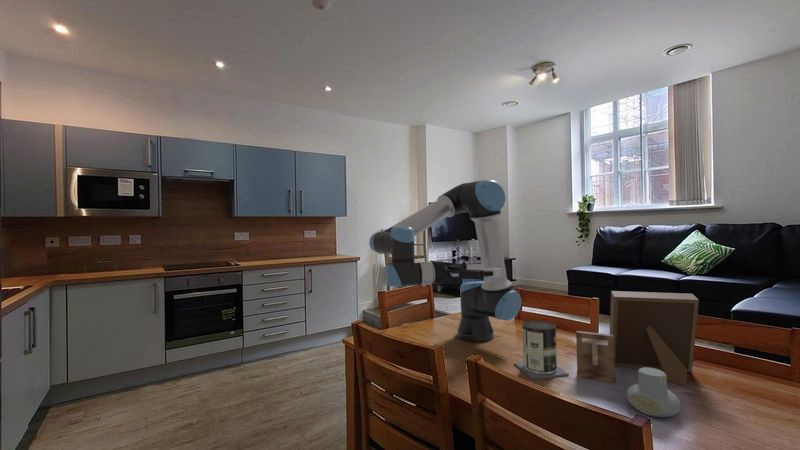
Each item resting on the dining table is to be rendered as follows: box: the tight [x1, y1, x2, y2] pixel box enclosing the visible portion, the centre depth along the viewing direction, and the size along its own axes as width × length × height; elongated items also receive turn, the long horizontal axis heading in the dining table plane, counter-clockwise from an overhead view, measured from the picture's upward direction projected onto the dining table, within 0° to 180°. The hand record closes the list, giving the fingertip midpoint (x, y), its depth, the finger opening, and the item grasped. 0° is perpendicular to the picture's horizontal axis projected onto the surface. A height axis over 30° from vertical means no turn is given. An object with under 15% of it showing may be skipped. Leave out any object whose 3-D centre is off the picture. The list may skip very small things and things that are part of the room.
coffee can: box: [521, 320, 558, 374], centre depth 116 cm, size 10×10×14 cm
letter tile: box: [575, 330, 616, 385], centre depth 109 cm, size 10×5×14 cm, turn 60°
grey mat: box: [513, 361, 570, 380], centre depth 116 cm, size 12×12×1 cm
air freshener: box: [626, 367, 681, 418], centre depth 89 cm, size 11×8×10 cm
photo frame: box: [609, 290, 700, 386], centre depth 111 cm, size 15×22×25 cm
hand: (492, 269), depth 122 cm, fingers open, 13 cm apart
